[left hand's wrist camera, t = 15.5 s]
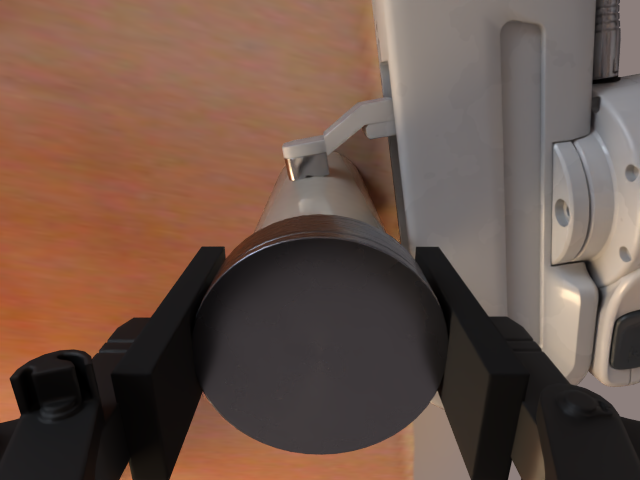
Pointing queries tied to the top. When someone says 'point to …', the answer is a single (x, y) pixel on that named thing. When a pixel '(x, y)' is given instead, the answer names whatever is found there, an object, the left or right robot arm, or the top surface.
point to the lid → (320, 336)
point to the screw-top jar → (322, 195)
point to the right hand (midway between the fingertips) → (301, 235)
